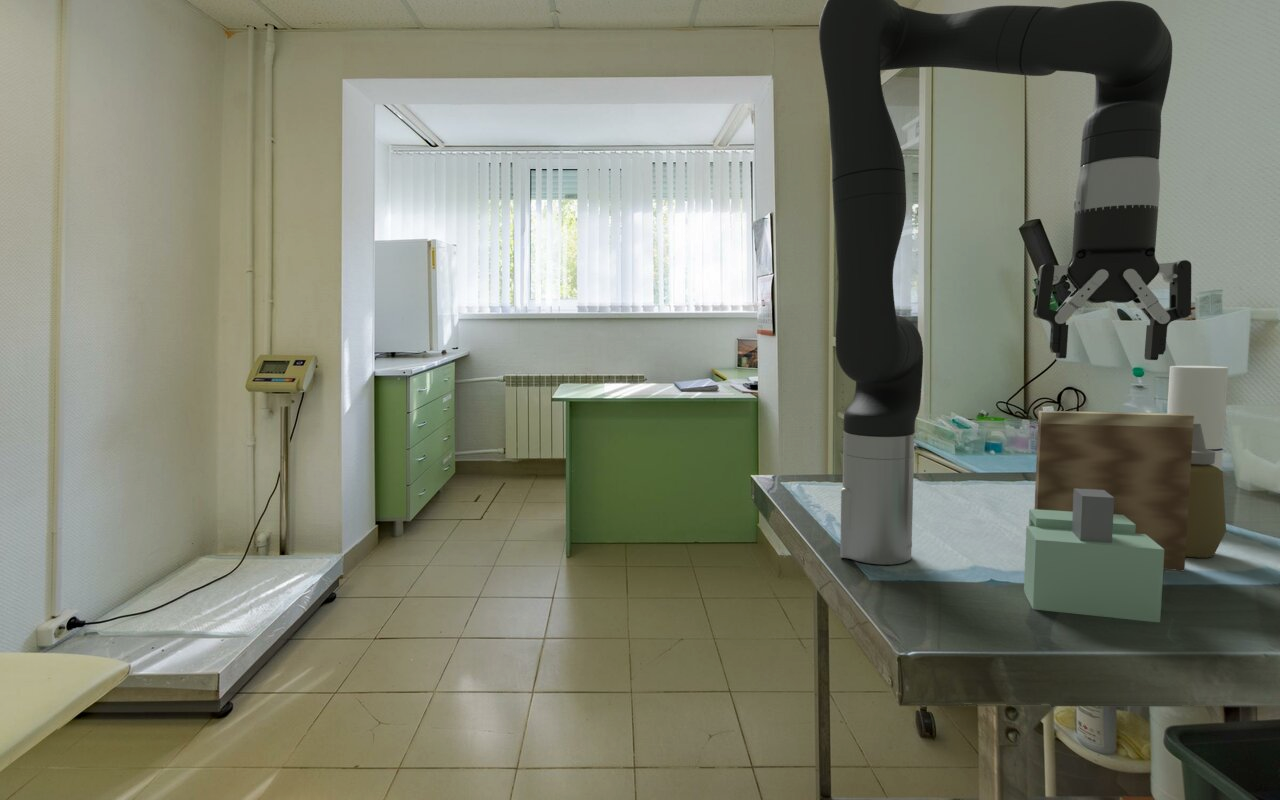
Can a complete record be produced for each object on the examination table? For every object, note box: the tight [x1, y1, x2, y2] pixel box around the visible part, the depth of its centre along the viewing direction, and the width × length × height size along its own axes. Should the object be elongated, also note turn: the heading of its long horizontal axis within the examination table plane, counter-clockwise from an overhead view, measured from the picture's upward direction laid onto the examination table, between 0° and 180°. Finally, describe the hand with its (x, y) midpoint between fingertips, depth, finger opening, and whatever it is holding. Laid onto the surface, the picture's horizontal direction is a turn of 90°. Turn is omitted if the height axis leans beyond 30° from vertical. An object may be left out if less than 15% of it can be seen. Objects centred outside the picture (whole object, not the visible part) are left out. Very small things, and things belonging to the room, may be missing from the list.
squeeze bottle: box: [1185, 423, 1227, 559], centre depth 99 cm, size 8×8×18 cm
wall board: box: [1034, 410, 1194, 571], centre depth 98 cm, size 17×7×20 cm, turn 71°
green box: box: [1023, 488, 1164, 623], centre depth 83 cm, size 12×11×13 cm
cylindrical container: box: [1166, 365, 1229, 471], centre depth 112 cm, size 7×7×25 cm
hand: (1105, 358), depth 79 cm, fingers open, 8 cm apart
